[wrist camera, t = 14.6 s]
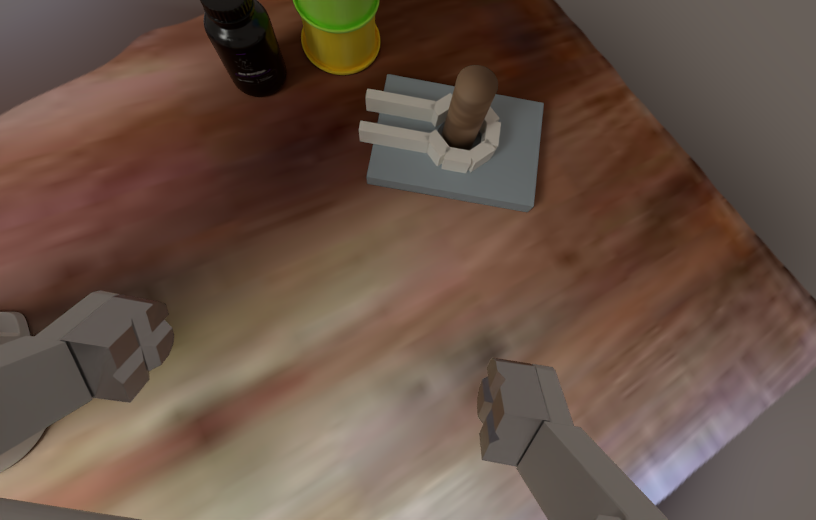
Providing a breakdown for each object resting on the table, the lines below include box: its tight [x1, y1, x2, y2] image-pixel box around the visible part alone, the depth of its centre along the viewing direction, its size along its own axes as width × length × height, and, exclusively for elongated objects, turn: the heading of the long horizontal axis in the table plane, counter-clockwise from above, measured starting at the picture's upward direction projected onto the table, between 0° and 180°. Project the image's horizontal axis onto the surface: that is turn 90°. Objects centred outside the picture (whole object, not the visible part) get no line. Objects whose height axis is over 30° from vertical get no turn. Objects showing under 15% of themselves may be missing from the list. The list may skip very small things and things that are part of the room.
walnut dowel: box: [441, 65, 498, 150], centre depth 41 cm, size 4×4×10 cm
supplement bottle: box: [200, 0, 287, 97], centre depth 42 cm, size 7×7×12 cm
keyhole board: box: [359, 74, 544, 212], centre depth 45 cm, size 22×14×4 cm, turn 81°
